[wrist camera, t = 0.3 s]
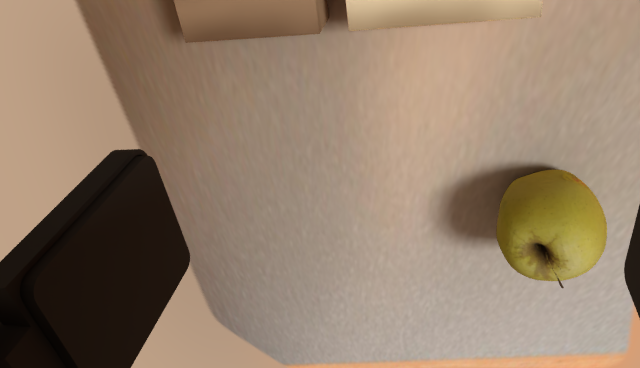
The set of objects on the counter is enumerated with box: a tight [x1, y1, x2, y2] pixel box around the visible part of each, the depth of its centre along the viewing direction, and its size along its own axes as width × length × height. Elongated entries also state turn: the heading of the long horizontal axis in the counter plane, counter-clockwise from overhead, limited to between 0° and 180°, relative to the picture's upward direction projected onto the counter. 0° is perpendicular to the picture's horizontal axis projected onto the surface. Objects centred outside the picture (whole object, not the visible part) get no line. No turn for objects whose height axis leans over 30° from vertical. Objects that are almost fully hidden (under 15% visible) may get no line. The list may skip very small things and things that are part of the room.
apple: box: [496, 170, 607, 288], centre depth 39 cm, size 8×8×10 cm
